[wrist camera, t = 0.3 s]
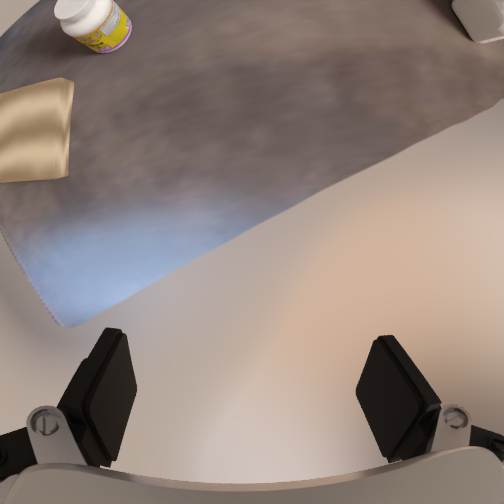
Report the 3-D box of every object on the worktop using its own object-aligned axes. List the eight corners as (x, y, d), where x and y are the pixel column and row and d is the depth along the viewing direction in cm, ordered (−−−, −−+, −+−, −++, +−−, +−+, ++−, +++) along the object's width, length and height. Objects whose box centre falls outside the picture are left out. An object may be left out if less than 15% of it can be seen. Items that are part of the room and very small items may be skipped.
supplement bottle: (83, 47, 29) (36, 21, 17) (108, 11, 28) (71, -25, 15) (115, 60, 31) (72, 32, 19) (142, 22, 29) (110, -18, 17)
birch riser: (9, 97, 30) (-5, 95, 26) (74, 82, 31) (61, 77, 27) (5, 179, 34) (-9, 183, 31) (68, 175, 36) (54, 179, 32)
